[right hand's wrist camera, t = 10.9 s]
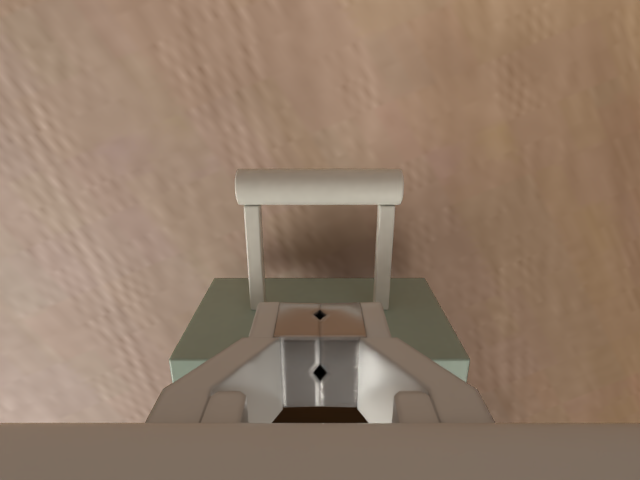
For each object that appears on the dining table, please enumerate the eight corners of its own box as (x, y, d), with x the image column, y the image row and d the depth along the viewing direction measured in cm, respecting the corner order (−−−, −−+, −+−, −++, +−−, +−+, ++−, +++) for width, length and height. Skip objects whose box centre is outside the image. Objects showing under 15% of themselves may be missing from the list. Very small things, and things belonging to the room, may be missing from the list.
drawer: (202, 157, 18) (141, 191, 12) (436, 157, 18) (496, 191, 12) (240, 536, 26) (216, 670, 20) (399, 536, 26) (423, 670, 20)
